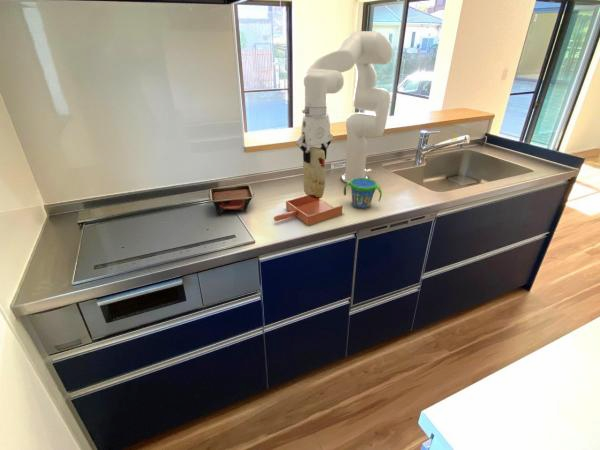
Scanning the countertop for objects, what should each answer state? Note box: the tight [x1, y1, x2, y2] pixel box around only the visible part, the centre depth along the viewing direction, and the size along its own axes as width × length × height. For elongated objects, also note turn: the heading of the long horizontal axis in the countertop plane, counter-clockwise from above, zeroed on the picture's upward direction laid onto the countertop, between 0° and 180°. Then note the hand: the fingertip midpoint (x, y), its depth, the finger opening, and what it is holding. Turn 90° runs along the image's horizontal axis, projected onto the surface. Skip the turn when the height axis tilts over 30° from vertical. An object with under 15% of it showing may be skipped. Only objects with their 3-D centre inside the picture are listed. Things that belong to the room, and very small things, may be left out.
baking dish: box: [208, 184, 255, 216], centre depth 142 cm, size 14×18×10 cm
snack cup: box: [343, 178, 383, 209], centre depth 142 cm, size 16×10×10 cm
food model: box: [302, 146, 326, 200], centre depth 131 cm, size 10×7×20 cm
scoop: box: [273, 194, 343, 226], centre depth 136 cm, size 26×16×4 cm, turn 123°
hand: (314, 159), depth 129 cm, fingers closed on food model, 6 cm apart
